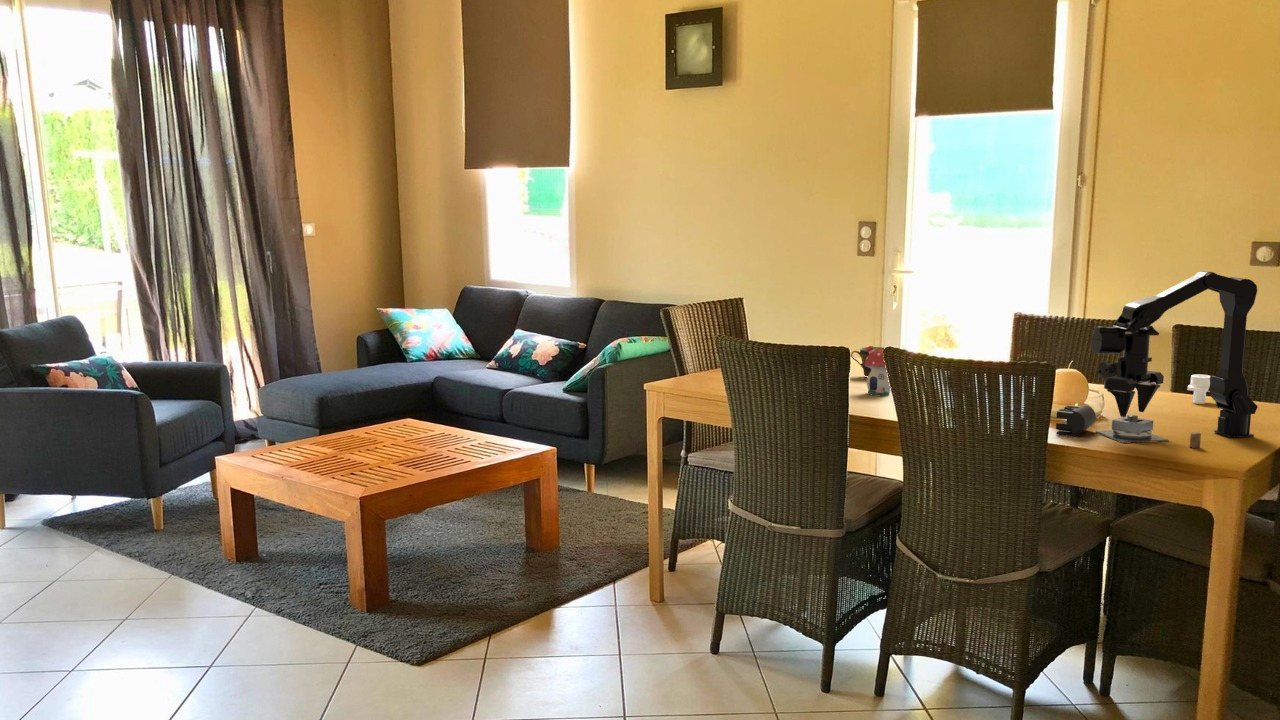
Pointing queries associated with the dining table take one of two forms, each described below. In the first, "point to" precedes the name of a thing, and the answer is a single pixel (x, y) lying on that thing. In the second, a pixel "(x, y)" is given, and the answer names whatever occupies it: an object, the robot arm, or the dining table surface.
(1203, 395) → the pipe fitting
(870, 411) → the dining table surface
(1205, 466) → the dining table surface
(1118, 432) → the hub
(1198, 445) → the stand post
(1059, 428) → the end cap
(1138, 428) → the grey square base
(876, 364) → the decorative ornament
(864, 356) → the ceramic cup
